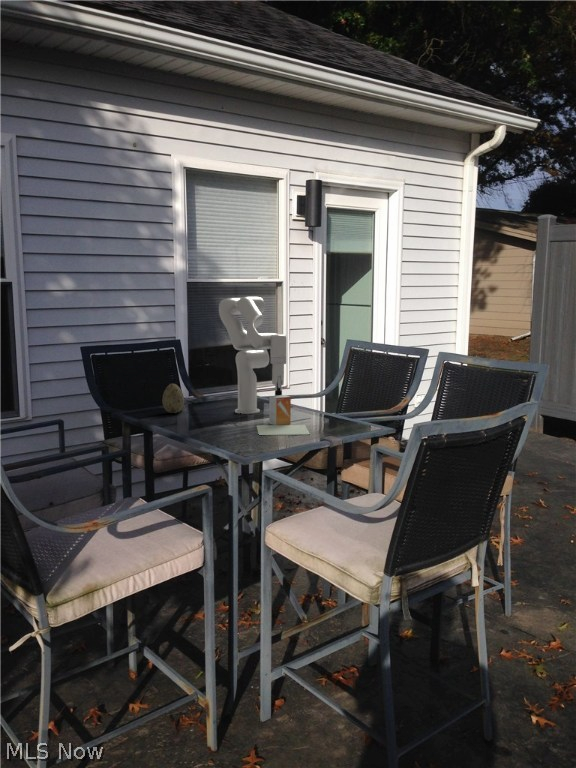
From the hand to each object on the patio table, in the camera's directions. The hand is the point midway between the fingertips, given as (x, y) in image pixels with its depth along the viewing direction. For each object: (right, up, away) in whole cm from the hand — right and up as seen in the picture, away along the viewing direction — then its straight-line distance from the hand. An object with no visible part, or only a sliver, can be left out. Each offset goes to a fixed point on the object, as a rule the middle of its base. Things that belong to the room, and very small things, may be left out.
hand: (278, 399), depth 322 cm
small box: (+1, -12, -8) cm, 14 cm away
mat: (+2, -13, -23) cm, 26 cm away
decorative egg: (-53, -8, +18) cm, 56 cm away
